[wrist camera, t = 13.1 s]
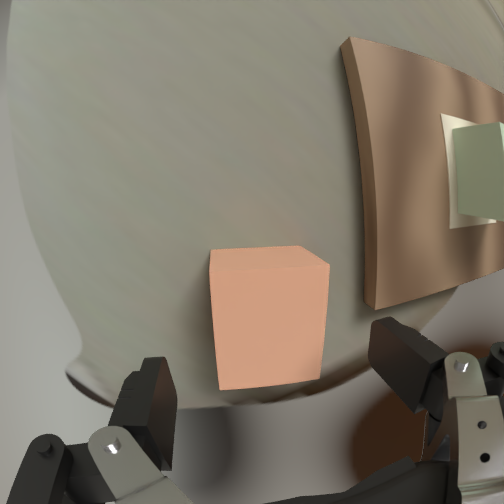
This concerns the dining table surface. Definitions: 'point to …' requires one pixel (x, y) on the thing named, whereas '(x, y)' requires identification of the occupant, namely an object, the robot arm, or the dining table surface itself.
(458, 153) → the sage green brick
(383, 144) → the base board
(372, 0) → the dining table surface
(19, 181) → the dining table surface
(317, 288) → the terracotta brick
